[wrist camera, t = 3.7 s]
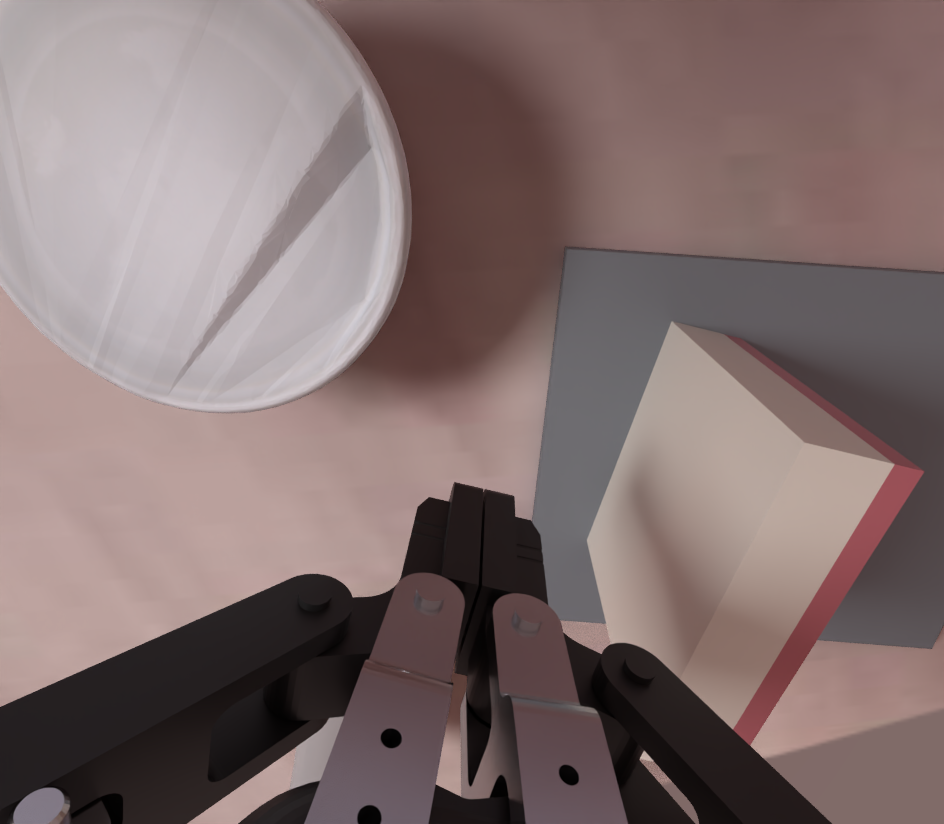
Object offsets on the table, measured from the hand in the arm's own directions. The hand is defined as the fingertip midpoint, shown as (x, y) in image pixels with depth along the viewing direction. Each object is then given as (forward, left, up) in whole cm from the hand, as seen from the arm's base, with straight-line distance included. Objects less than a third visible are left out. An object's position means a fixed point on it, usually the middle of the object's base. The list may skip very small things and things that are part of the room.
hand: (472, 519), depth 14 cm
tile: (+1, +6, -7) cm, 10 cm away
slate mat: (+2, +11, -8) cm, 13 cm away
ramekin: (-7, -8, -8) cm, 13 cm away
